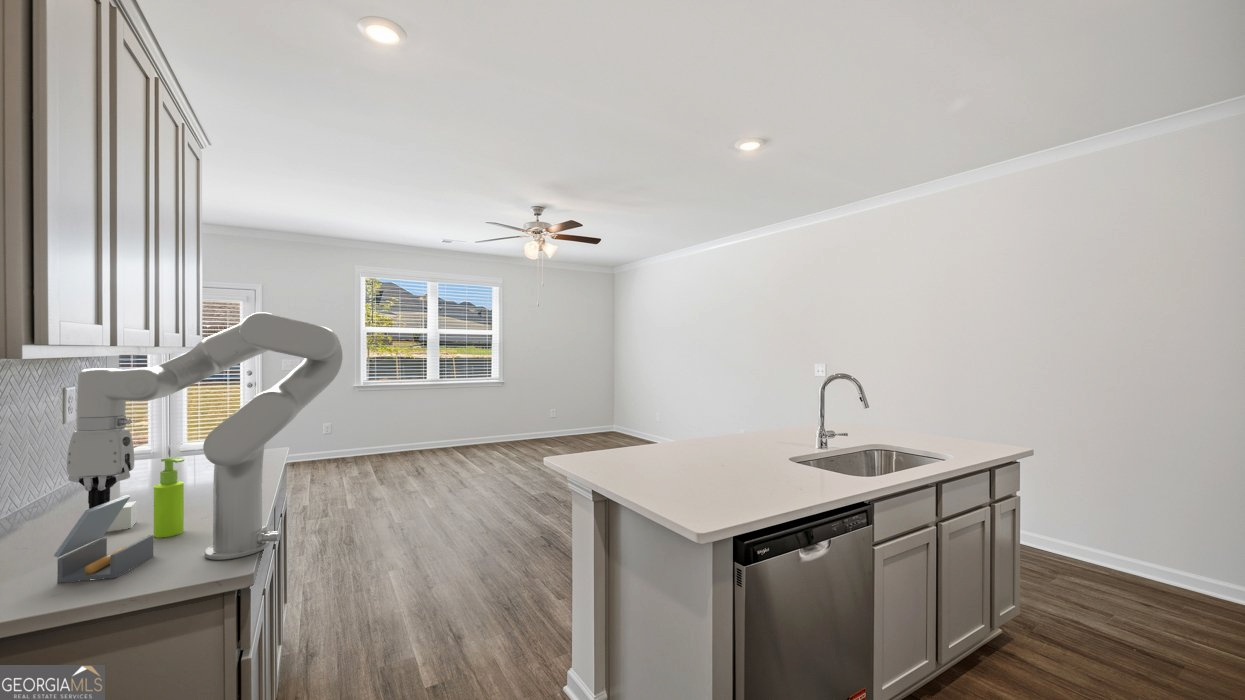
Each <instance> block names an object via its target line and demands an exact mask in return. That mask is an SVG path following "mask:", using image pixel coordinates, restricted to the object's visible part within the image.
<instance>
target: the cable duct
mask: <svg viewBox="0 0 1245 700" xmlns="http://www.w3.org/2000/svg"><path fill="white" fill-rule="evenodd" d="M107 544H108V540H107V537H101V538H99V539H97V540H95V541H93V542H90V543H88V544H86V545H84V546H82V547H80V548H77V549H75V550H73V551H71V552H69V553H66V554H64V555H62V557H61V556H60V557H58V558H57V579H56V580H57V584H62V583H61V582H65V583H71V582H70V581H77V582H80V581H79V580H90V579H102V580H106V579H105V578H115V577H117V576H118V577H120V576H122V575H123V574H125V573H127V572H129V571H130V570H132V569H134V568H136V567H137V566H139V565H141V564H143V563H144V562H146V561H148V560H149V559H151V558H153V557H154V534H151V535H150V534H148V536H145V537H143V538H142V539H139V540H137V541H135V542H133V543H131V544H130V545H127V546H122V547H121V548H118V549H117V550H115V551H113V552H111V553H109V554H108V552H107V550H108V549H107V547H108V545H107ZM152 556H153V557H152ZM150 557H151V558H150ZM147 559H148V560H147ZM145 560H146V561H145ZM140 563H141V564H140ZM138 564H139V565H138ZM136 565H137V566H136ZM135 566H136V567H135ZM133 567H134V568H133ZM131 568H132V569H131ZM129 569H130V570H129ZM128 570H129V571H128ZM126 571H127V572H126ZM124 572H125V573H124ZM121 574H122V575H121ZM119 575H120V576H119ZM118 577H117V578H118ZM103 578H104V579H103ZM115 579H116V578H115ZM90 581H91V580H90Z"/></svg>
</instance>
